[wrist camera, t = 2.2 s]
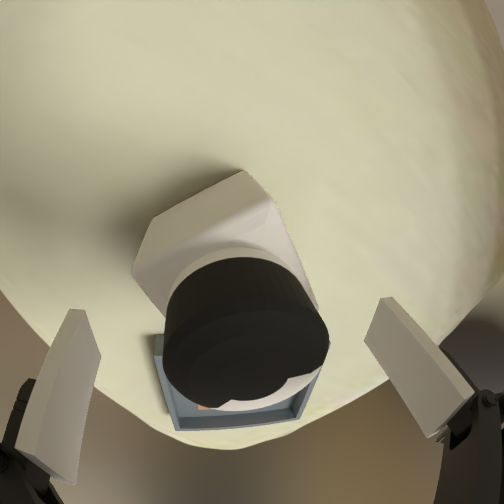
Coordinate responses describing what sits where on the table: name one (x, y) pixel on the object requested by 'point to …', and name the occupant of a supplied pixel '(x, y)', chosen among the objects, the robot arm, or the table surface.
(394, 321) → the robot arm
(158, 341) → the tray
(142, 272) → the medicine bottle
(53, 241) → the table surface
